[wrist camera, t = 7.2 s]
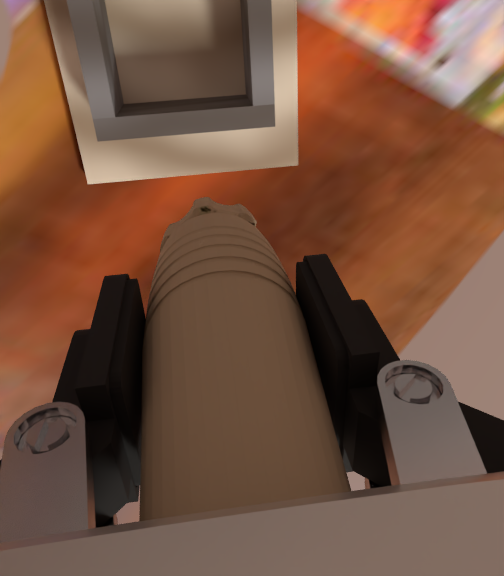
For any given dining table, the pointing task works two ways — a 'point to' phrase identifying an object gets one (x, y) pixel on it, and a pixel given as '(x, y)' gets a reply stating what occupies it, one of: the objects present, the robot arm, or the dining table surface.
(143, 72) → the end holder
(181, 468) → the handle
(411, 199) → the dining table surface
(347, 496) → the robot arm
